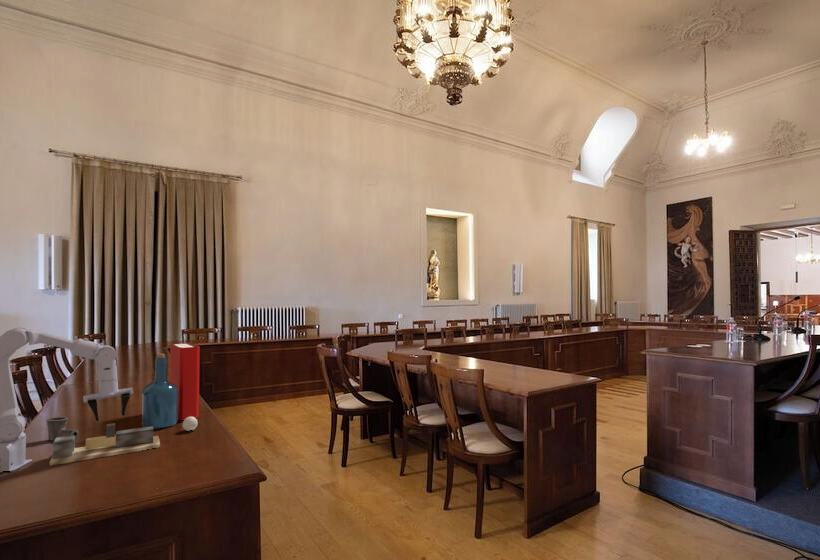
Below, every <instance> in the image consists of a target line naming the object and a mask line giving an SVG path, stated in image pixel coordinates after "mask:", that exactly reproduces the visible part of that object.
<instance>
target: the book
mask: <svg viewBox="0 0 820 560" xmlns="http://www.w3.org/2000/svg"><path fill="white" fill-rule="evenodd" d="M169 343H170V342H169ZM169 347H170V348H169V349H170V351H169V354H170V355H169V382H171V383H173V384H174V385H175V386H176V387H177V388H178V419H179V420H185V419H186V418H187V417H195V418H197V417H199V418H200V367H201V366H200V364H201V362H200V360H201V359H200V357H201V356H200V353H201V347H200V345H197V344H195V343H193V342H190V341H188V342H186V343H175V344H174V343H170V345H169ZM179 420H178V421H179Z"/></svg>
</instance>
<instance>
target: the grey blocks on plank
mask: <svg viewBox="0 0 820 560" xmlns="http://www.w3.org/2000/svg"><path fill="white" fill-rule="evenodd" d="M154 430H155V429H153V426H150V427H143V426H142V427H138V428H137V427H136V428H130V429H123V430H115V434H116V445H114V446H107V447H100V448H94V449H87V450H86V446H81V447H75V443H76V442H75V441H76V439H75V435H71V436H63V437H56V439H55V441H53V444H52V445H53V446H52V457H51V459H50V461H49V466H50V467H51V466H55V465H60V464H61V465H62V464H68V463H73V462H74V463H76V462H81V461H87V460H92V459H98V458H99V459H101V458H105V457H111V456H112V457H113V456H117V455H118V456H119V455H123V454H129V453H135V452H143V451H148V450H147V449H149V450H153V449H152V448H156V449H160V448H161V442H160V441H161V440H160V438H159V435H155V436H154ZM159 447H160V448H159ZM142 450H143V451H142Z"/></svg>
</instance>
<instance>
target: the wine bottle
mask: <svg viewBox="0 0 820 560" xmlns="http://www.w3.org/2000/svg"><path fill="white" fill-rule="evenodd" d="M154 365H155V372H154V374H155V375H154V380H152V381H151V382H149V383H148V384H146V385H145V386H144V387H143V388H142V390H141V394H142V405H141V407H142V409H141V411H142V412H141V413H142V414H141V421H142V422H141V425H142V428H143V427H150V426H153V429H154V430H159V429H160V428H161V429H166V427H167V428H170V427H172V426H175V425H177V424H178V421H179V420H178V388H177V387H176V386H175V385H174V384H173V383H171V382H170V381H168V377H167V375H168V374H167V365H168V362H167V356H166V355H165V353H159V354H158V355H157V357H156V359H155V364H154ZM169 426H170V427H169Z"/></svg>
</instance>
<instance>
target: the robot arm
mask: <svg viewBox="0 0 820 560" xmlns="http://www.w3.org/2000/svg"><path fill="white" fill-rule="evenodd" d="M27 344H28V346H33V345H38V344H39V345H40V344H43V345H48V346H52V347H57V348H59V349H60V348H61V349H65V350H69V352H70V354H71V355H73V356H78V357H82V358H86V359H89V360H96V361H97V367H96V368H97V385H98V392H96V393H93V394H87V395H83V403H87V404H88V406H89V407H90V409H91V411H92V412H93V414H94V418H95V422H99V420H100V419H99V418H100V417H99V413H98V402H97V401H98V400H103V399H108V398H115V397H120V403H121V416H122V417H125V416H126V415H125V413H126V409H127V405H128V402H129V401H130V398H131V395H132V394H134V389H133V387H127V388H119V382H118V368H117V367H118V366H117V361H116V358H117V356H118V355H117V352H116V350H115V347H113V346H111V345H109V344H104V343H103V342H100V343H99V342H95V341H90V340H89V338H86V337H84V338H77V339H75V340H72V339H69V338H65V337H62V336H59V335H55V334H52V333H49V332H45V331H42V330H36V329H26V328H25V327H15V328H12V329H9V330H7V331H5V332H4V333H3V334H1V335H0V471H10V472H15V471H16V470H18V469H20V468H22V467H24V466H25V465H28V464H29V463H30V462H33V459H27V458H26V453H27V451H26V450H27V449H26V448H27V433H25V432H24V429H25V427H26V425H27V419H26V417H25V416H24V415H23V414H22V411H21V408H20V406H19V403H18V400H17V399H18V398H17V394H16V390H15V384H14V378H13V374H12V370H11V363H10V358H11V357H12V356H13V355H14V354H15V353H16V351H17V350H19V349H21V348H23V347H24V346H26V345H27ZM10 472H9V473H10Z"/></svg>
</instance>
